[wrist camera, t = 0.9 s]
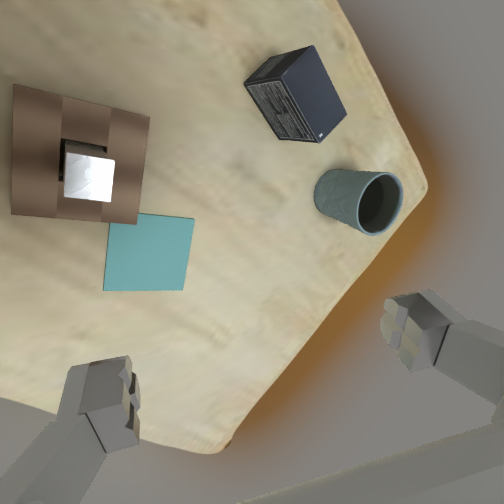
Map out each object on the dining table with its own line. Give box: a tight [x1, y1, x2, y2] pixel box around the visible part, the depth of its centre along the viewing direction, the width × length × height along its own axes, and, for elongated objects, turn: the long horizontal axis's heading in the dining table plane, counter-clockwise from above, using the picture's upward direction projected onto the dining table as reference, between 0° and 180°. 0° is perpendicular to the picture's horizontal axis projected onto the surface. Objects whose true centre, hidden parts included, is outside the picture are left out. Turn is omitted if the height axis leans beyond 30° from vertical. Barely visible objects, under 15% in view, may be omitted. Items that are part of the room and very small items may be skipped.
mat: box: [103, 213, 195, 291], centre depth 51 cm, size 12×12×1 cm
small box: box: [244, 45, 347, 143], centre depth 48 cm, size 11×6×10 cm, turn 39°
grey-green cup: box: [314, 169, 403, 236], centre depth 59 cm, size 10×10×12 cm
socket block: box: [11, 84, 150, 225], centre depth 42 cm, size 14×14×3 cm
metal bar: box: [63, 141, 115, 202], centre depth 38 cm, size 4×4×14 cm
